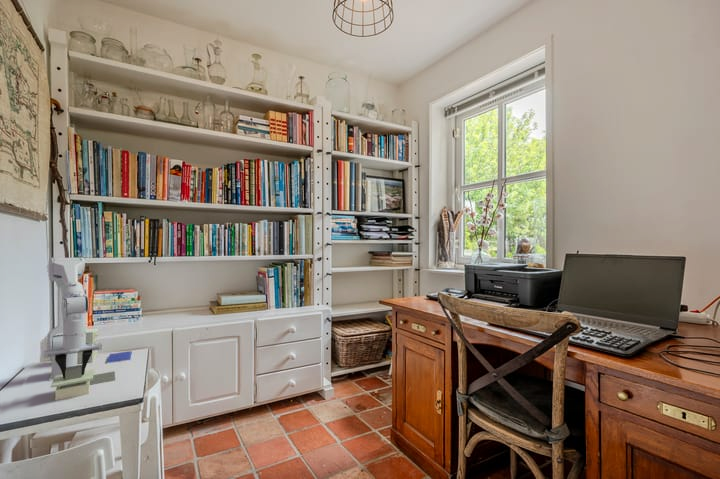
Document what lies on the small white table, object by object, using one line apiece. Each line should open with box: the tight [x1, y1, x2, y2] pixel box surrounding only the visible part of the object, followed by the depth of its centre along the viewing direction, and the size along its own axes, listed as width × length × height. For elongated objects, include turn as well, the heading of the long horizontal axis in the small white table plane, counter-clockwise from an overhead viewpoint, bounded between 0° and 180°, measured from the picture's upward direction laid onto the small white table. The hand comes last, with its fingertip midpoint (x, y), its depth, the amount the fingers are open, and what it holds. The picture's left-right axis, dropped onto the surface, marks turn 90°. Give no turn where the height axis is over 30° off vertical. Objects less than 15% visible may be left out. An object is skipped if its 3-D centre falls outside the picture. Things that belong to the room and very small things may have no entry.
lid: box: [50, 364, 95, 389], centre depth 109 cm, size 10×10×4 cm
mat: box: [90, 371, 116, 386], centre depth 120 cm, size 11×11×1 cm
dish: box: [55, 381, 91, 401], centre depth 109 cm, size 8×8×4 cm
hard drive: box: [106, 350, 133, 364], centre depth 144 cm, size 2×8×12 cm
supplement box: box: [77, 328, 99, 364], centre depth 142 cm, size 7×7×13 cm
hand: (73, 375), depth 109 cm, fingers closed on lid, 4 cm apart
